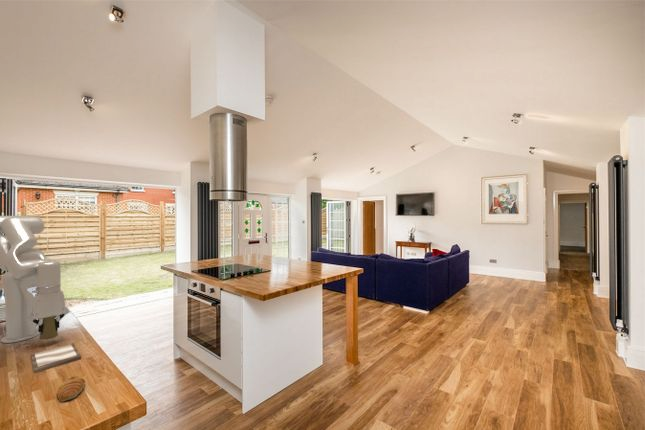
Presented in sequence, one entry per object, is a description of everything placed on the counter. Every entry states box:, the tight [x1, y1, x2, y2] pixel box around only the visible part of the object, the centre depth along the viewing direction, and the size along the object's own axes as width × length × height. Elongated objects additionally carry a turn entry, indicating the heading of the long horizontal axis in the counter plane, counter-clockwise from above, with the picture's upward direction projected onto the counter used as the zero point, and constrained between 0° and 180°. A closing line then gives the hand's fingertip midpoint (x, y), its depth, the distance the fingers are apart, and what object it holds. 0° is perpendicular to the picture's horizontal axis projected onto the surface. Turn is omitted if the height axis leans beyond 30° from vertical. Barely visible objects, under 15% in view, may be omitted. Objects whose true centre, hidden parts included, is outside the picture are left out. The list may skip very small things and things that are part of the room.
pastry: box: [56, 375, 86, 403], centre depth 92 cm, size 9×7×4 cm
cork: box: [38, 316, 59, 341], centre depth 128 cm, size 6×6×11 cm
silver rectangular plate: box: [30, 343, 82, 374], centre depth 116 cm, size 18×13×1 cm
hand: (49, 331), depth 128 cm, fingers closed on cork, 3 cm apart
